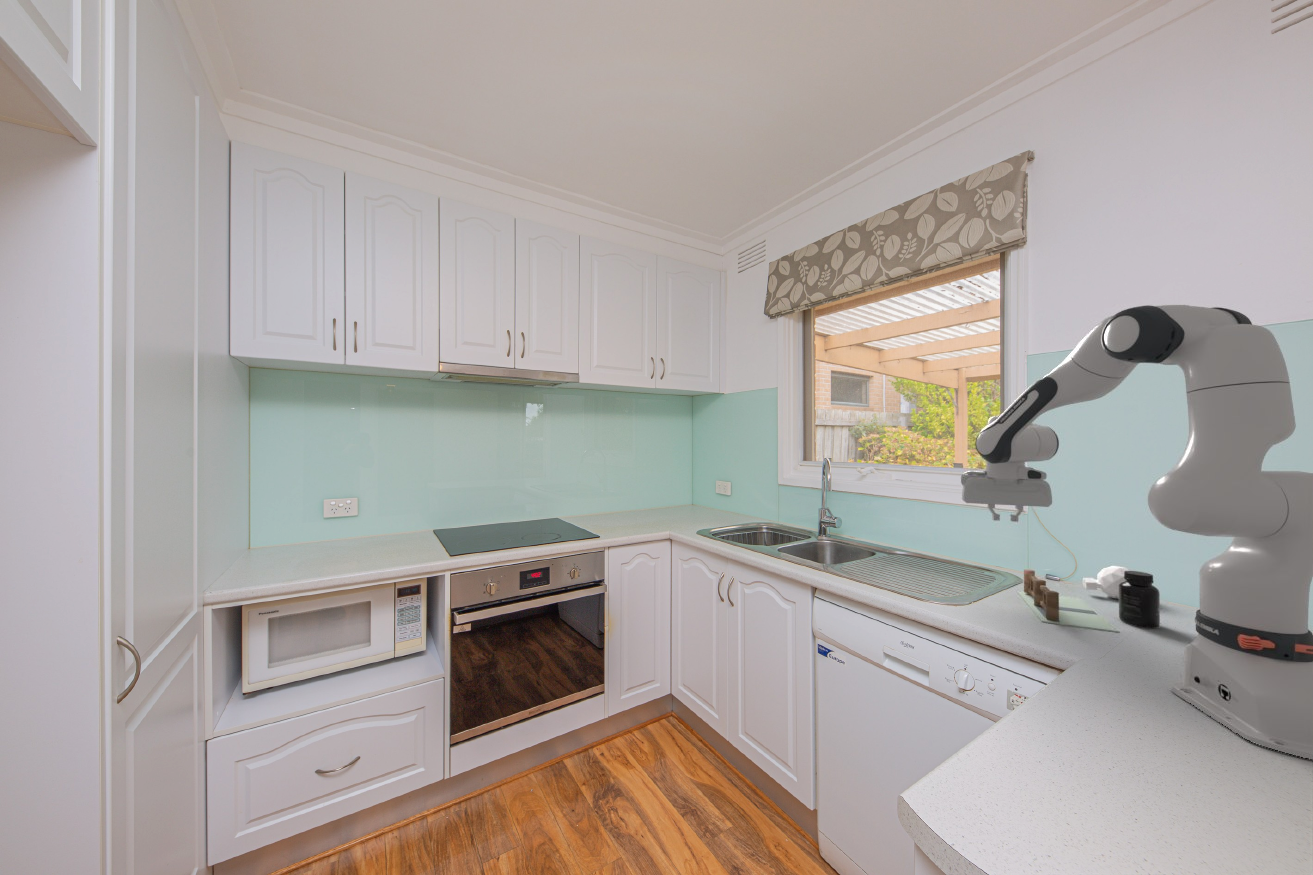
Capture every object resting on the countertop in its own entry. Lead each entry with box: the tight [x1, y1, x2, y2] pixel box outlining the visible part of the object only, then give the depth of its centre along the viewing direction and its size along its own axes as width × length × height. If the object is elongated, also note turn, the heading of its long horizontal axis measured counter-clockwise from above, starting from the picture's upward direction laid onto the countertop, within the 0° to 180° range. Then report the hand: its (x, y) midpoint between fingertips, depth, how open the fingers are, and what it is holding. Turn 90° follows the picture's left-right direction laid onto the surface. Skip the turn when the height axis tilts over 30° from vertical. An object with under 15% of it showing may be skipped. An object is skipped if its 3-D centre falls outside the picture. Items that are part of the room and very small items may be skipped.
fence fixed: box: [1034, 578, 1060, 622], centre depth 117 cm, size 12×2×7 cm, turn 154°
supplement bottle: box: [1118, 570, 1161, 629], centre depth 111 cm, size 7×7×12 cm
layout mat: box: [1016, 590, 1121, 633], centre depth 119 cm, size 24×14×1 cm, turn 154°
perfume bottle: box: [1082, 565, 1132, 600], centre depth 128 cm, size 9×9×12 cm
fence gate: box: [1023, 569, 1038, 598], centre depth 127 cm, size 9×2×6 cm, turn 154°
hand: (1005, 520), depth 130 cm, fingers open, 3 cm apart
